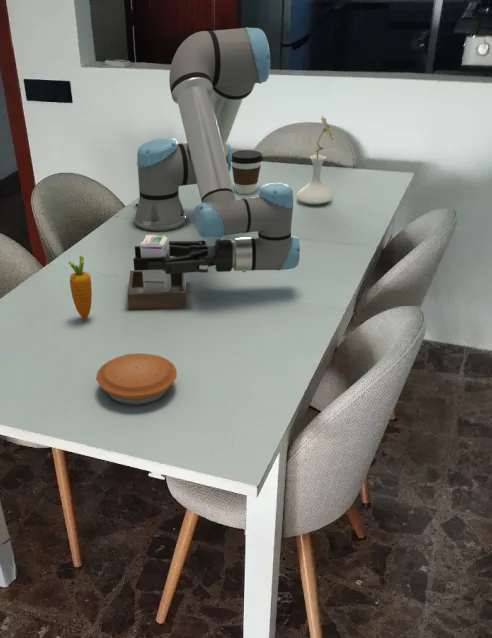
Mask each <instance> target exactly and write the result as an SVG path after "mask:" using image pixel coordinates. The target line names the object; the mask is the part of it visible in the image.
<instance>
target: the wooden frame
mask: <svg viewBox="0 0 492 638" xmlns="http://www.w3.org/2000/svg"><path fill="white" fill-rule="evenodd" d="M171 283H172V287H173V286H181V288H182V289H181V290H182V291H181V290H180V291H172V292H147V293H144V292H135V288H137V287H138V288H139V287H140V288H141V287H143V275H142V270H129V279H128V287H127V305H128V311H132V310H133V311H136V310H137V311H138V310H140V311H141V310H164V309H166V310H167V309H168V310H169V309H171V310H172V309H187V284H186V283H187V282H186V273H176V274H171Z"/></svg>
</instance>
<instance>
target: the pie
mask: <svg viewBox="0 0 492 638" xmlns="http://www.w3.org/2000/svg"><path fill="white" fill-rule="evenodd" d="M177 373H178V372H177V369H176V367H175V364H174V363H173V362H171V360H169V359H167V358H165V357H162V356H160V355H157V354H156V355H155V354H149V353H128V354H124V355H123V354H122V355H121V356H117V357H115V358H112V359H110V360H108V361H107V362H106V363H104V364H102V365H101V366H100V368H99V369H98V371H96V376H95V377H96V378H95V379H96V382H97V384H98V385H99V386H100V387H101V388H102V389H103V391H104V392H106V394H108V395H109V396H110V398H112V399H113V400H114V401H115V402H118V403H120V404H123V405H128V406H140V405H147V404H151V403H153V402H156V401H157V400H160V398H162V397H163V396H164V395H165V394H166V392H167V391H168V389H169V388H170V387H171V386H172V385H173V383H174V382H175V380H176V378H177V377H178V376H177V375H178V374H177Z"/></svg>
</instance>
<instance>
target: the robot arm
mask: <svg viewBox="0 0 492 638" xmlns="http://www.w3.org/2000/svg"><path fill="white" fill-rule="evenodd" d="M268 41H269V40H268V39H267V36H266V33H265V32H264V31H263V30H262V29H261V28H258V27H241V28H231V29H220V30H219V29H217V30H202V31H198V32H194V33H193V34H191V35H189V36H187V38H185V39H184V40H183V41H182V42H181V44H180V45H179V47H177V50H176V52H175V54H174V56H173V58H172V60H171V64H170V68H169V76H168V77H169V78H168V81H169V90H170V94H171V95H170V96H171V98H172V101H173V102H174V103H175V104H177V105H178V109H179V113H180V118H181V121H182V126H183V129H184V134H185V139H186V142H180V143H179V142H178V141H177V139H175V138H173V137H160V138H154V139H151V140H148V141H146V142H143V143H142V144H141V145H139V147H138V149H137V154H136V156H137V157H136V166H137V177H138V178H137V179H138V191H139V192H138V193H139V199H138V203H137V202H136V203H135V206H136V211H135V216H134V224H135V226H136V227H137V228H139V229H141V230H144V231H148V232H167V231H172V230H176V229H179V228H181V227H183V226H184V225H185V224H186V222H187V220H186V213H185V210H184V206H183V205H182V201H181V198H180V194H179V193H180V192H179V191H180V190H179V187H182V186H191V185H196V186H197V188H198V192H199V197H200V201H201V203H199V204H197V205H196V207H195V209H194V221H195V223H194V224H195V228H196V231H197V234H198V235H199V236H200V237H202V238H217V239H216V240H215V243H214V244H215V245H209V244H208V245H207V241H206V240H204V239H203V240H172V241H171V240H169V249H170V258H167V259H165V257H164V256H162V257H153V258H141V249H140V245H135V246H134V257H133V261H132V262H133V271H137V270H163V271H165V274H176V273H185V274H188V273H209V267H214V266H215V270H216V272H217V273H220V272H221V273H226V272H228V273H229V272H231V271H232V270H233V271H234V272H242V273H246V272H247V271H249V272H250V271H286V270H292V269H293V270H294V269H296V268H297V267H298V266H299V263H300V258H301V257H300V256H301V253H300V252H301V251H300V250H301V247H300V246H301V245H300V239H299V237H297V236H294V235H292V222H293V212H294V191H293V188H292V187H291V186H289V185H288V184H285V183H281V182H272V183H266V184H263V185H262V186H260V188H259V193H258V196H251V197H249V196H248V197H241V198H236V196H235V193H234V192H235V191H234V186H233V183H232V178H231V175H230V173H231V170H232V153H233V151H232V147H231V144H230V143H229V141H228V139H229V137H230V134H231V131H232V129H233V126H234V123H235V120H236V119H237V115H238V113H239V111H240V108H241V104H242V102H243V100H244V99H246V98H247V97H248V96H250V95H251V93H252V91H253V90H254V88H255V85H256V84H259V85H261V84H263V83H266V82H267V81H268V79H269V78H270V77H269V76H270V73H271V53H270V47H269V42H268ZM255 232H257V237H234V238H233V240H232V239H231V238H223V237H224V236H225V237H226V236H232V235H238V234H245V233H246V234H247V233H255Z"/></svg>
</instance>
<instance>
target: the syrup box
mask: <svg viewBox="0 0 492 638" xmlns="http://www.w3.org/2000/svg"><path fill="white" fill-rule="evenodd" d="M169 241H170V236H169V235H162V234H146V235H145V237H144V238H143V240H141V242H140V244H139V246H140V249H141V258H153V257H162V256H164V257H165V259H167V258H171V256H170V249H169ZM142 275H143V286H142V287H143V293H147V292H173V286H172V283H171V274H165V271H163V270H142Z"/></svg>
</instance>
